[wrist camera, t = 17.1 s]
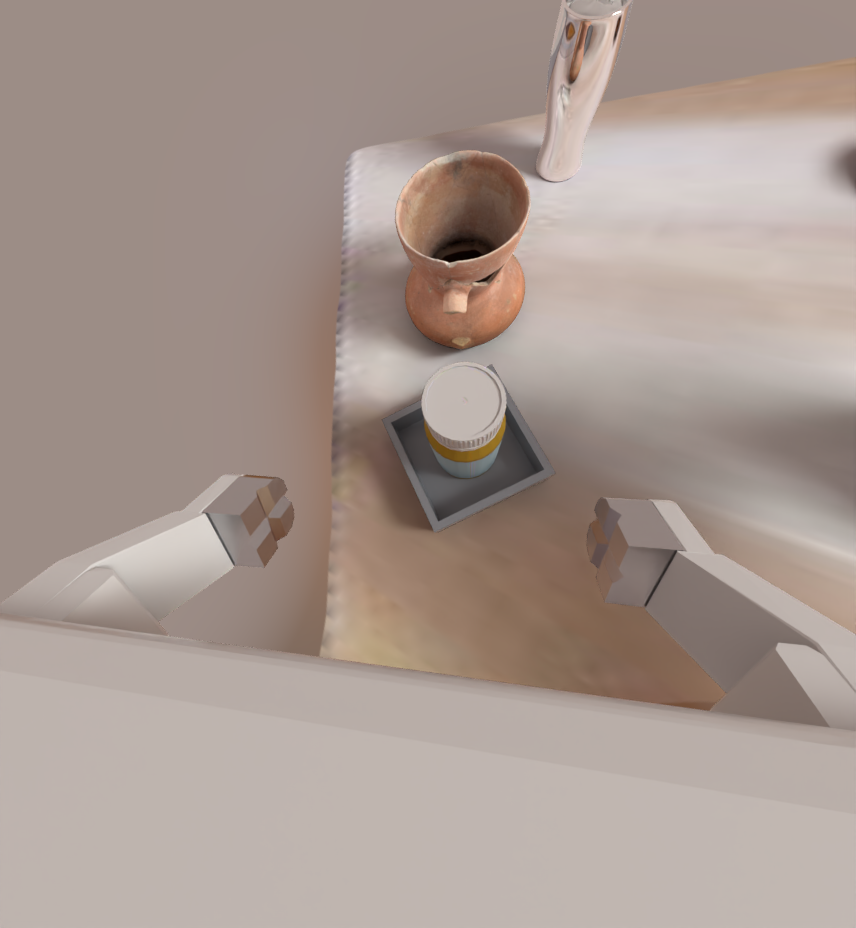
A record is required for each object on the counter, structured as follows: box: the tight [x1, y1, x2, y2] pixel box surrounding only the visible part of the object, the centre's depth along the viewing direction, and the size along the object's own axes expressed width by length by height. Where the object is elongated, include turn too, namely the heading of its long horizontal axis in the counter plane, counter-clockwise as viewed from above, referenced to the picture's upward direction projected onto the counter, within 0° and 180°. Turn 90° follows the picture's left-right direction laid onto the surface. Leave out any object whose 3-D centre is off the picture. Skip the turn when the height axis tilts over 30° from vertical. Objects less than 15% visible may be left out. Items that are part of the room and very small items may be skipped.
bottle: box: [421, 362, 507, 479], centre depth 31 cm, size 7×7×15 cm
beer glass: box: [536, 0, 633, 182], centre depth 38 cm, size 7×7×15 cm
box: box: [382, 364, 555, 532], centre depth 37 cm, size 14×14×4 cm
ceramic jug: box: [395, 150, 530, 349], centre depth 36 cm, size 18×14×14 cm
